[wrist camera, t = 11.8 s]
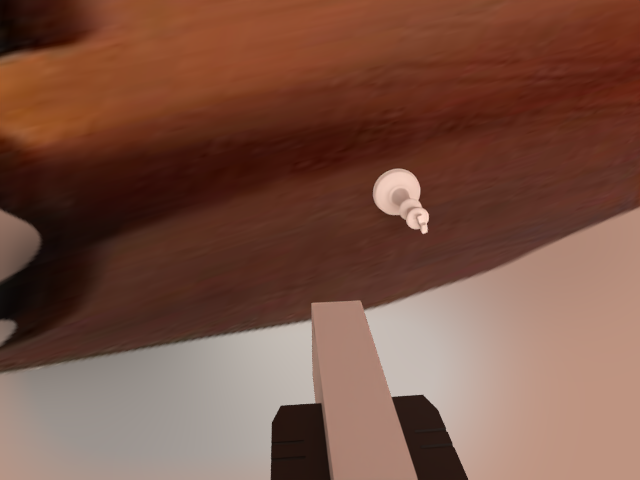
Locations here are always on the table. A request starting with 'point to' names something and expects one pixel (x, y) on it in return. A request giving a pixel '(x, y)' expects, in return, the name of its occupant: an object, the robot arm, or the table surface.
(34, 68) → the table surface
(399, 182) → the chess piece
